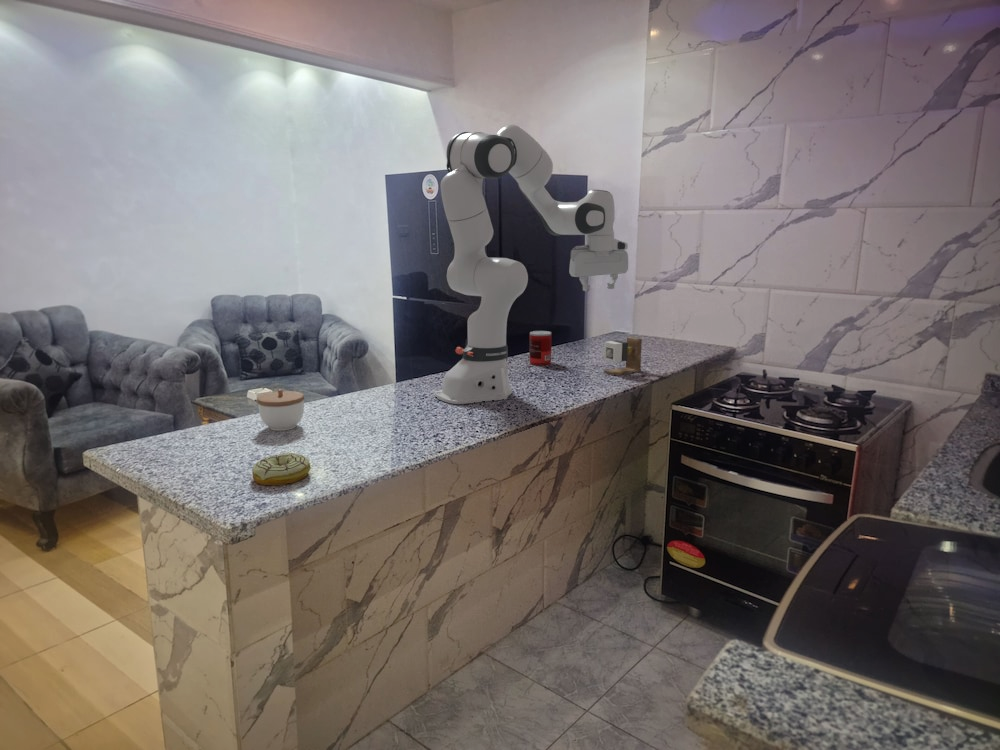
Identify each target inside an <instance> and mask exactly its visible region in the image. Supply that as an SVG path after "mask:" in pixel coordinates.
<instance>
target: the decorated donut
mask: <svg viewBox="0 0 1000 750" xmlns="http://www.w3.org/2000/svg"><path fill="white" fill-rule="evenodd" d="M310 470H311V462H310V460H309V459H308V458H307V457H306V456H304V455H303V454H298V453H294V452H293V453H291V452H289V453H285V452H284V453H280V454H279V453H278V454H275V455H269V456H267V457H264V458H263V459H261V460H259V461H258V462H256V463H255V464H254V465H253V466H252V467H251V471H252V472H251V473H252V478H253V481H254V482H255V483H256V484H258V485H262V486H272V487H273V486H274V487H275V486H276V487H277V486H279V485H281V486H285V485H287V484H293V483H296V482H298V481H301V480H303V479H304V478H306V477H307V476H308V475H309V473H310Z"/></svg>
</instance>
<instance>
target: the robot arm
mask: <svg viewBox="0 0 1000 750" xmlns="http://www.w3.org/2000/svg"><path fill="white" fill-rule="evenodd" d="M553 167H554V164H553V161H552V158H551V156H550V155H549V153H548V152H547V151H546V150H545V149H544V148H543V146H542V145H540V143H539V142H538V141H537V140H536V139H535V138H534V137H532V136H531V134H529V133H528V132H527V131H526V130H524V129H522V128H521V127H520V126H518V125H516V124H507V125H505V126H504V127H501V128H500V129H499V130H498V131H497V132H496V134H489V133H486V132H481V131H473V132H471V131H463V132H460V133H457V134H455V135H454V136H452V138H450V140H449V142H448V144H447V148H446V169H447V172H448V173H447V174H445V175H444V177H442V179H441V181H440V195H441V201H442V205H443V208H444V209H443V210H444V213H445V217H446V220H447V223H448V225H449V226H448V227H449V229H450V233H451V236H452V240H453V245H454V256H453V259H452V260H451V262H450V264H449V266H448V267H447V272H446V281H447V284H448V286H449V288H450V289H451V290H452V291H454V292H457V293H459V294H461V295H466V296H473V297H481V300H480V303H479V304H480V305H479V306H478V309H476V311H474V312H472V313H471V314H470V315H469V317H468V318H467V344H466V345H465V347H464V348H463V347H461V346H457V347H456V348H455V350H454V351H455V353H456V354H457V355H462V356H461V357H462V358H461V360H460V359H459V361H458V362H457V363H456V364H455V365H454V366H453V367H452V368H450V369H449V370H448V371H447V372H446V373H445V374H444V376H443V380H442V387H441V389H439V390H435V392H434V397H435V398H436V397H437V398H436V399H437V400H440V401H442V402H445V403H448V404H455V405H464V404H474V402H475V403H483V402H482V401H485V402H492V400H494V401H503V400H502V399H504V400H507V399H508V397H509V396H510V395H511V394H512V392H513V390H512V388H511V384H510V379H509V374H508V373H509V372H508V359H509V358H508V357H509V356H508V355H509V353H508V352H509V351H508V349H509V348H508V344H507V328H508V327H507V326H508V323H507V322H508V317H509V312H510V310H511V307H512V305H513V304H514V302H515V301H516V299H517V298H519V297H520V296H521V295H522V294H523V293H524V291H525V290H526V288H527V286H528V281H529V274H528V271H527V268H526V266H525V265H524V264H523V263H522V262H521V261H518V260H514V259H512V258H511V259H510V258H508V257H488V256H487V253H486V246H487V245H488V244H489V243H490V242H491V241H492V239H493V236H494V227H493V224H492V221H491V217H490V213H489V210H488V207H487V202H486V200H485V196H484V194H483V184H484V183H483V181H484V179H488V180H493V179H495V180H496V179H500V178H502V177H503V176H505V175H507V174H508V173H509V175H510V176H511V177H512V178H513V179H514V180H515V181H516V183H517V184H516V185H517V186H518V189H519V190H520V192H521V193H522V195H523V197H524V198H525V199H526V200H527V202H528V203H529V204H530V205H531V207H532V208H533V209H534V211H535V212H536V213H537V215H538V216H539V218H540V220H541V222H542V224H543V226H544V228H545V230H546V232H548V233H549V234H550V235H552V236H555V237H557V236H567V235H568V236H578V235H579V236H584V245H575V246H574V247H573V248H572V249H571V250H570V259H569V260H570V261H569V271H568V272H569V274H570V276H571V277H574V278H579V281H580V284H581V285H582V291H583V292H589V291H591V289H590V288H591V287H590V286H591V285H590V284H588V283H587V280H588V277H594V276H608V275H609V276H610V280H609V282H607V289H608V290H613V289H615V284H616V282H617V280H618V277H619V274H626V273H627V272H628V271H629V254H628V252H627V250H628V243H627V242H625V241H622V240H619V239H617V238H615V232H614V224H615V218H616V217H615V216H616V215H615V213H616V211H615V201H614V195H613V193H611V192H610V191H608V190H603V189H591V190H588V192H587V194H586V195H584V197H583V198H581V199H579V200H578V201H568V202H566V201H558V200H556V199H554V198H553V197H552V196H551V194H550V193H549V192H548V190H547V189H546V187H545V186H546V185H547V184H548V182H549V181H550V179H551V178H552V174H553V171H554V170H553V169H554V168H553Z"/></svg>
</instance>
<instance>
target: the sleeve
mask: <svg viewBox="0 0 1000 750" xmlns="http://www.w3.org/2000/svg"><path fill="white" fill-rule="evenodd" d="M614 341H615V340H609V341H604V343H603V344H604V347H603V349H604V350H603V360H604V361H607V362H610V363H621V362H623V361H622V343H618V342H614ZM611 349H613V357H608V355H607V351H608V350H611Z"/></svg>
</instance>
